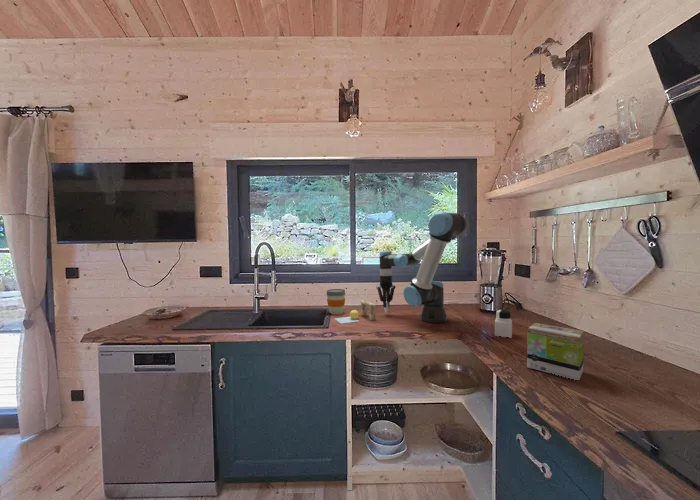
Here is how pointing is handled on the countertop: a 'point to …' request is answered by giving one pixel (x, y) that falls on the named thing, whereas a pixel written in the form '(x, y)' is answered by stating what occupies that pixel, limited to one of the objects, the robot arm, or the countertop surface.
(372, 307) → the bridge
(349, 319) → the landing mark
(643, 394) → the countertop surface
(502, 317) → the medicine bottle
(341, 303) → the reusable coffee cup
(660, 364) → the countertop surface
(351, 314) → the ball
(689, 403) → the countertop surface
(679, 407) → the countertop surface
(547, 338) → the tea box
